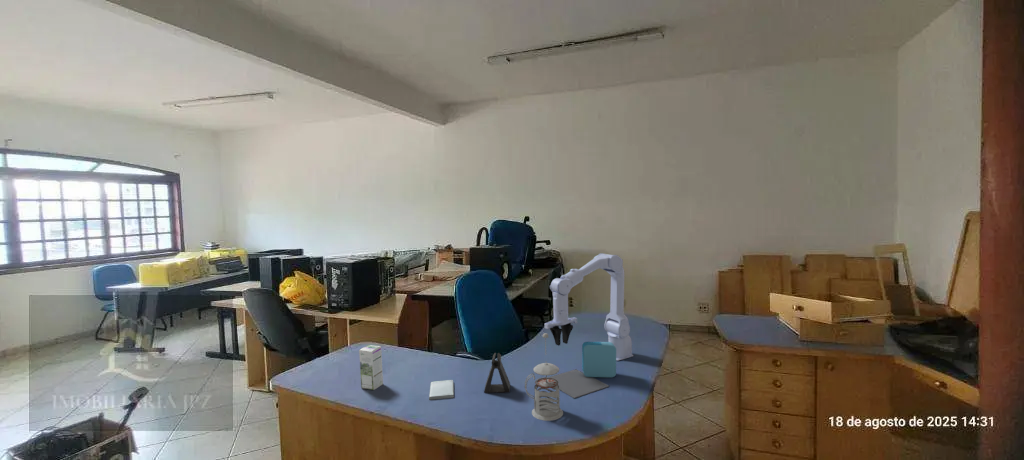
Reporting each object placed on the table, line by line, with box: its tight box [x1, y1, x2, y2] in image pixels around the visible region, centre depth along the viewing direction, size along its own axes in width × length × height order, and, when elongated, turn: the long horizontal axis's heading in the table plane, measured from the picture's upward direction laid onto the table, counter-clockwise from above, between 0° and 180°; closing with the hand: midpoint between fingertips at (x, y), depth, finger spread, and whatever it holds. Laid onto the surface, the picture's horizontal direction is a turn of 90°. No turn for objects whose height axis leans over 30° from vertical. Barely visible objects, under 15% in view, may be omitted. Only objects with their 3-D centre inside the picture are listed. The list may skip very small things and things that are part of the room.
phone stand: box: [483, 352, 511, 394], centre depth 142 cm, size 9×6×12 cm, turn 88°
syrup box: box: [358, 345, 384, 391], centre depth 147 cm, size 6×6×14 cm
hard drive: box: [428, 379, 454, 401], centre depth 142 cm, size 2×8×12 cm
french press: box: [524, 332, 564, 422], centre depth 124 cm, size 10×12×25 cm
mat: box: [547, 368, 610, 399], centre depth 145 cm, size 16×18×1 cm
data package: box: [581, 341, 617, 378], centre depth 151 cm, size 12×4×12 cm, turn 87°
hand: (561, 343), depth 157 cm, fingers open, 3 cm apart
